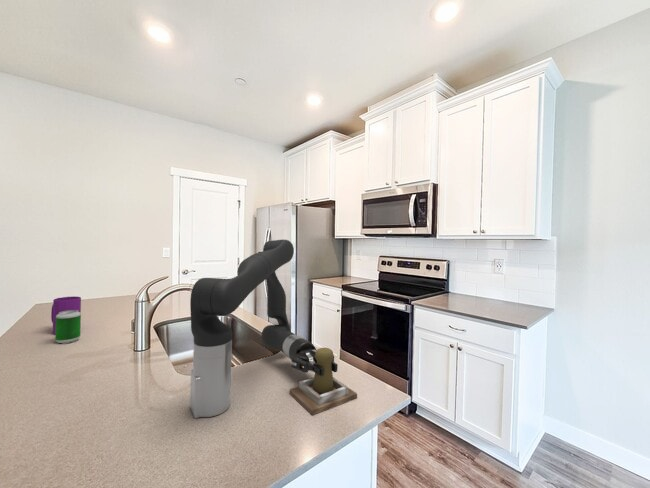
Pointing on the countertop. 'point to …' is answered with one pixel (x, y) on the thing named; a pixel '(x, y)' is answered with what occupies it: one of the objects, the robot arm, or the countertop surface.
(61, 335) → the soda can
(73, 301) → the mug
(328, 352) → the olive pawn figure
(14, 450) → the countertop surface
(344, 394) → the spice dock
